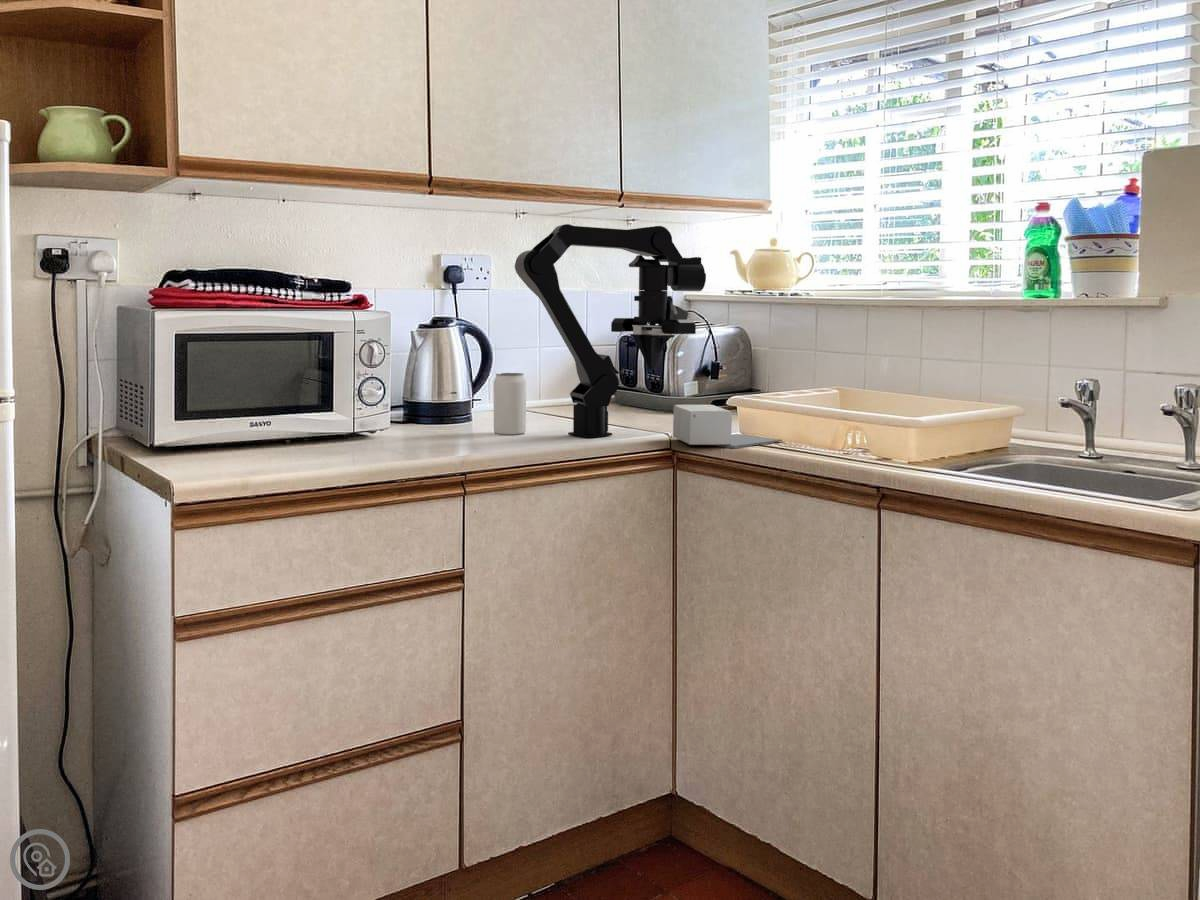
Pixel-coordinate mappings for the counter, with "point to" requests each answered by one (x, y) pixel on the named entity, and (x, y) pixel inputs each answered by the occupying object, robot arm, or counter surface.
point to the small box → (702, 424)
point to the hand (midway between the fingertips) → (651, 369)
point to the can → (509, 404)
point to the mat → (747, 441)
